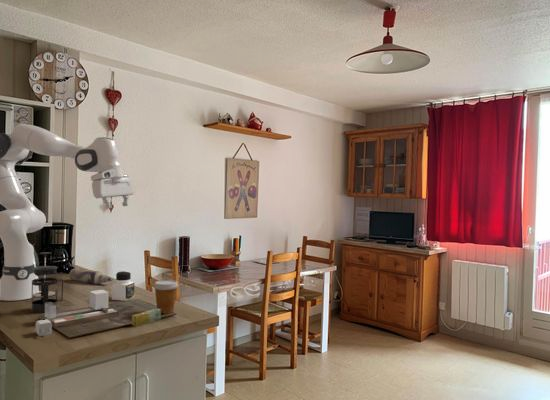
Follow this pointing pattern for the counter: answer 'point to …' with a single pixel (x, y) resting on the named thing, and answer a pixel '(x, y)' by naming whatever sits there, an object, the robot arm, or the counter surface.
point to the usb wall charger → (43, 327)
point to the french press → (44, 287)
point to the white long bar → (51, 313)
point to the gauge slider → (99, 300)
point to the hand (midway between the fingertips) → (117, 207)
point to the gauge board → (82, 317)
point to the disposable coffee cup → (165, 295)
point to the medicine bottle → (123, 287)
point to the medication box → (146, 317)
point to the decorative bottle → (88, 276)
